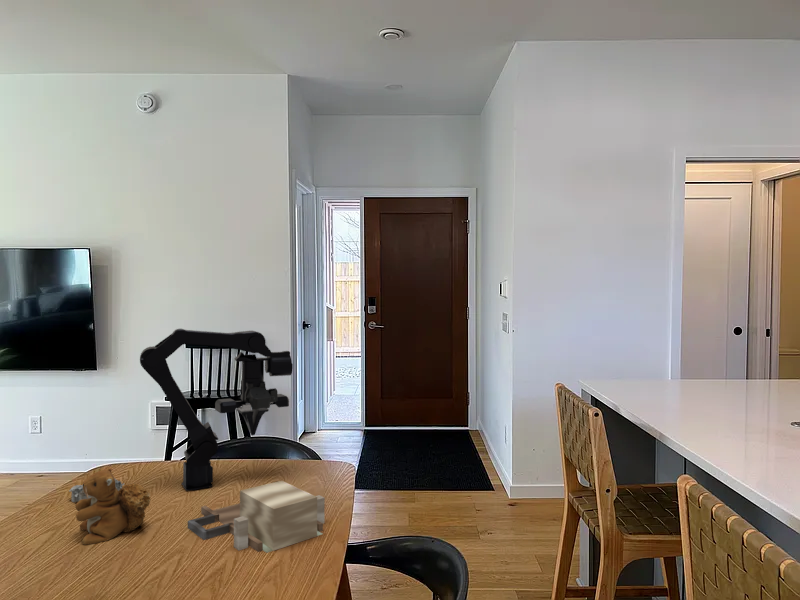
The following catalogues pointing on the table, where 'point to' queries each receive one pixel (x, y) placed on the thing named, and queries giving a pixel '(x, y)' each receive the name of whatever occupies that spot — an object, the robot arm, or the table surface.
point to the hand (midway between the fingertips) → (252, 435)
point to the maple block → (279, 514)
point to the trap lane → (238, 525)
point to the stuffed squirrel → (110, 507)
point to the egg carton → (79, 495)
